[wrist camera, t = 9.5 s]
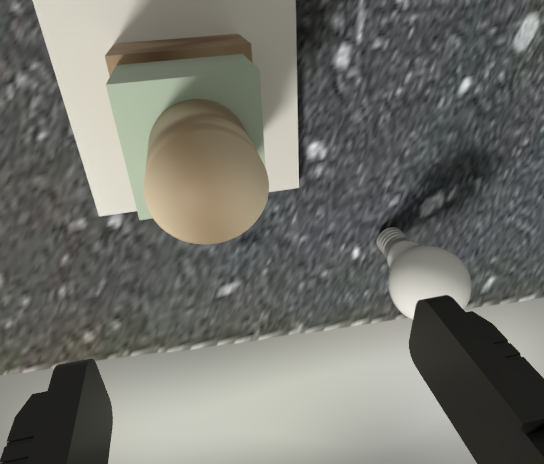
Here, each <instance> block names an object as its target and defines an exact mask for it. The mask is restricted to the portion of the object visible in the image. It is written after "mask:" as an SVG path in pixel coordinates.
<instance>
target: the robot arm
mask: <svg viewBox="0 0 544 464" xmlns="http://www.w3.org/2000/svg"><path fill="white" fill-rule="evenodd" d="M409 349H410V353H411V357H412V360H413V362H414V364H415V366H416V367H417V369H418V371H419V372H420V374H421V376H422V377H423V379H424V380H425V382H426V383H427V385H428V386H429V388H430V390H431V391H432V393H433V394H434V396H435V398H436V399H437V401H438V402H439V404H440V405H441V407H442V408H443V410H444V412H445V413H446V415H447V416H448V418H449V419H450V421H451V423H452V424H453V426H454V428H455V429H456V431H457V432H458V434H459V435H460V437H461V438H462V440H463V442H464V443H465V445H466V446H467V448H468V450H469V451H470V453H471V454H472V456H473V457H474V459H475V461H476V462H477V464H544V378H543V377H542V376H541V375H540V374H539V373H538V372H537V371H536V370H535V369H534V368H533V367H532V366H531V365H530V363H529V362H528V361H527V360H526V359H525V358H524V357H521V356H520V353H519V352H518V351H517V350H516V349H515V347H514V346H512V344H509V343H508V340H507V339H506V338H505V337H504V336H503V335H502V334H501V332H500V331H499V330H498V329H497V328H496V327H495V326H494V325H493V324H492V323H490V322H489V321H487V320H486V319H484V318H482V317H481V316H479V315H477V314H476V313H474V312H465V311H464V310H463V309H462V308H461V306H460V305H459V304H458V303H457V302H456V301H455V300H454V299H453V298H452V297H451V296H449V295H443V296H438V297H433V298H427V299H422V300H419V301H418V302H417V303H416V307H415V312H414V318H413V323H412V329H411V334H410V339H409ZM112 419H113V417H112V406H111V402H110V398H109V396H108V393H107V391H106V388H105V385H104V383H103V380H102V378H101V375H100V372H99V370H98V367H97V365H96V362H95V361H94V360H93V359H87V360H82V361H76V362H71V363H65V364H60V365H57V366H56V367H55V369H54V371H53V374H52V378H51V381H50V384H49V388H48V391H46V392H41V393H36V394H32V396H31V397H30V398H29V399H28V401H27V402H26V404H25V405H24V406H23V407H22V409H21V410H20V411H19V413H18V414H17V415H16V417H15V419H14V422H13V425H12V427H11V431H10V433H9V436H8V439H7V446H6V447H5V448H4V451H3V453H2V457H1V459H0V464H108V458H109V448H110V442H111V433H112V423H113V422H112V421H113V420H112Z"/></svg>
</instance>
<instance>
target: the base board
mask: <svg viewBox="0 0 544 464" xmlns="http://www.w3.org/2000/svg"><path fill="white" fill-rule="evenodd" d="M33 3H34V7H35V10H36V13H37V16H38V20H39V23H40V26H41V29H42V33H43V36H44V39H45V42H46V46H47V49H48V52H49V55H50V58H51V62H52V65H53V68H54V71H55V75H56V78H57V81H58V84H59V88H60V91H61V94H62V97H63V101H64V104H65V107H66V110H67V114H68V117H69V120H70V123H71V127H72V130H73V133H74V136H75V139H76V143H77V146H78V149H79V152H80V156H81V159H82V162H83V165H84V169H85V172H86V175H87V178H88V182H89V185H90V188H91V191H92V195H93V198H94V201H95V204H96V208H97V211H98V214H99V216H106V215H113V214H120V213H127V212H134V211H137V208H136V204H135V200H134V196H133V192H132V188H131V184H130V180H129V176H128V172H127V168H126V164H125V160H124V156H123V152H122V148H121V144H120V140H119V136H118V132H117V128H116V124H115V120H114V116H113V112H112V108H111V104H110V100H109V96H108V92H107V88H106V83H107V81H108V79H109V78H110V76H109V72H108V68H107V63H106V59H105V55H106V54H107V52H108V51H109V50H110V48H111V47H112V46H113V44H116V43H129V42H141V41H153V40H166V39H178V38H190V37H203V36H215V35H227V34H239V35H241V36H242V37H243V38H245V39H246V40H247V41H248V42H250V43H251V49H252V63H253V64H254V65H255V66H256V67H257V68H258V69H259V70H260V85H261V101H262V117H263V134H264V150H265V166H266V171H267V175H268V180H269V192H273V191H280V190H287V189H294V188H299V161H298V103H297V45H296V0H33Z"/></svg>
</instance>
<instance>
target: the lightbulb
mask: <svg viewBox="0 0 544 464" xmlns="http://www.w3.org/2000/svg"><path fill="white" fill-rule="evenodd" d="M376 244H377V247H378V248H379V249H380V251H381V252H382V253H383V254H384V256H385V257H386V258H387V263H388V266H389V268H390V273H389V279H388V287H389V292H390V296H391V298H392V300H393V302H394V304H395V306H396V307H397V308H398V309H399V311H400V312H402V313H403V314H404V315H405V316H407V317H408V318H410V319H412V320H413V318H414V312H415V307H416V303H417V302H418V301H419V300H422V299H427V298H433V297H438V296H443V295H449V296H451V297H452V298H453V299H454V300H455V301H456V302H457V303H458V304H459V305H460V306H461V308H462V309H463V310H464V308H465V307H466V305H467V304H468V301H469V299H470V296H471V289H472V285H471V278H470V275H469V272H468V270H467V268H466V266H465V265H464V263H463V262H462V261H461V260H460V259H459V258H458V257H457V256H456V255H455V254H453V253H452V252H450V251H448V250H446V249H443V248H440V247H436V246H421V245H419V244H418V243H416V242H414V241H410V240H409V239H408V238H407V236H406V235H405V234H404V233H403V232H402V231H401V230H400V229H399V228H396V227H390V228H387V229H385V230H383V231H382V232H381V233H380V234H379V235H378V237H377V241H376Z"/></svg>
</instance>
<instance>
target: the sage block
mask: <svg viewBox="0 0 544 464" xmlns="http://www.w3.org/2000/svg"><path fill="white" fill-rule="evenodd" d="M106 88H107V92H108V96H109V100H110V104H111V108H112V112H113V116H114V120H115V124H116V128H117V132H118V136H119V140H120V144H121V148H122V152H123V156H124V160H125V164H126V168H127V172H128V176H129V180H130V184H131V188H132V192H133V196H134V200H135V204H136V208H137V212H138V216H139V220H144V219H151V218H153V217H152V216H151V214H150V212H149V210H148V208H147V205H146V201H145V196H144V181H145V171H146V161H147V150H148V141H149V135H150V132H151V129H152V127H153V125H154V123H155V122H156V120H157V118H158V117H159V116H160V115H161V114H162V113H163V112H164V111H165V110H166V109H168V108H169V107H171V106H172V105H174V104H177V103H179V102H182V101H185V100H191V99H205V100H210V101H214V102H217V103H219V104H221V105H223V106H225V107H227V108H228V109H229V110H231V111H232V112H233V113H234V114H235V115H236V116H237V117H238V118H239V120H240V121H241V123H242V124H243V126H244V128H245V130H246V131H247V133H248V135H249V137H250V139H251V141H252V143H253V145H254V146H255V148H256V150H257V152H258V154H259V156H260V158H261V160H262V162H263V164H264V166H265V150H264V134H263V117H262V101H261V85H260V70H259V69H258V68H257V67H256V66H255V65H254V64H253V63H252V62H251V61H250V60H249V59H248V58H247V57H246V56H245V55H244V54H235V55H224V56H213V57H201V58H190V59H179V60H167V61H156V62H145V63H134V64H122V65H116V67H115V68H114V70H113V72H112V74H111V76H110V78H109V79H108V81H107V83H106ZM265 168H266V166H265ZM267 201H268V199H267Z"/></svg>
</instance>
